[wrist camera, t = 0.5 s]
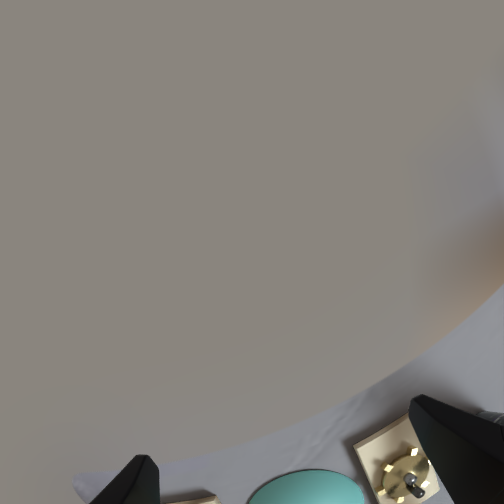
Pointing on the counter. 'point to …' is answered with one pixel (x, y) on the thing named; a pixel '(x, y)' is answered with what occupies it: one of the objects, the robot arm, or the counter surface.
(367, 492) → the counter surface
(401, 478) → the brass gears
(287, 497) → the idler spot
